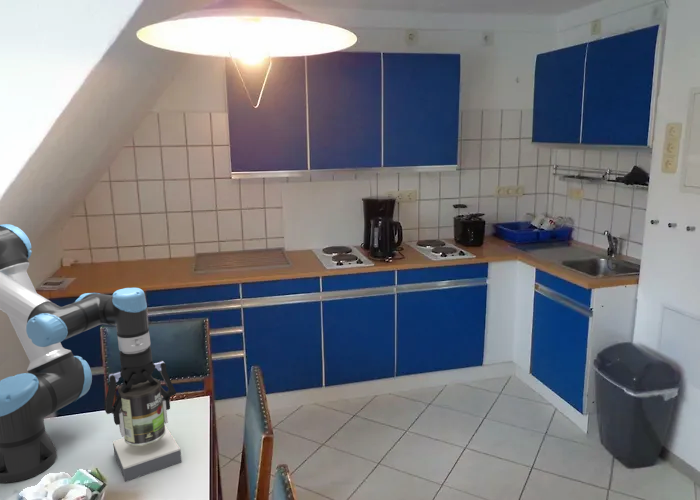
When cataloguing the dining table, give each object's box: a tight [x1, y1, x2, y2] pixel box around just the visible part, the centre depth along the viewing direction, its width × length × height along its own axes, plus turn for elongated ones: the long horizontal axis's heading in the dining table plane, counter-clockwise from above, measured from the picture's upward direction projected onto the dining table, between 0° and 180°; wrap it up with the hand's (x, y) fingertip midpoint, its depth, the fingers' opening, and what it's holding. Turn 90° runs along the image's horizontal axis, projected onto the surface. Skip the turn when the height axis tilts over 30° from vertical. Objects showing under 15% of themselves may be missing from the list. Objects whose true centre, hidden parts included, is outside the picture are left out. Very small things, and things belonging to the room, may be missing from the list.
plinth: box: [112, 424, 182, 482], centre depth 140 cm, size 14×14×4 cm
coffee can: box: [117, 377, 166, 446], centre depth 137 cm, size 10×10×14 cm
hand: (144, 427), depth 138 cm, fingers closed on coffee can, 10 cm apart
